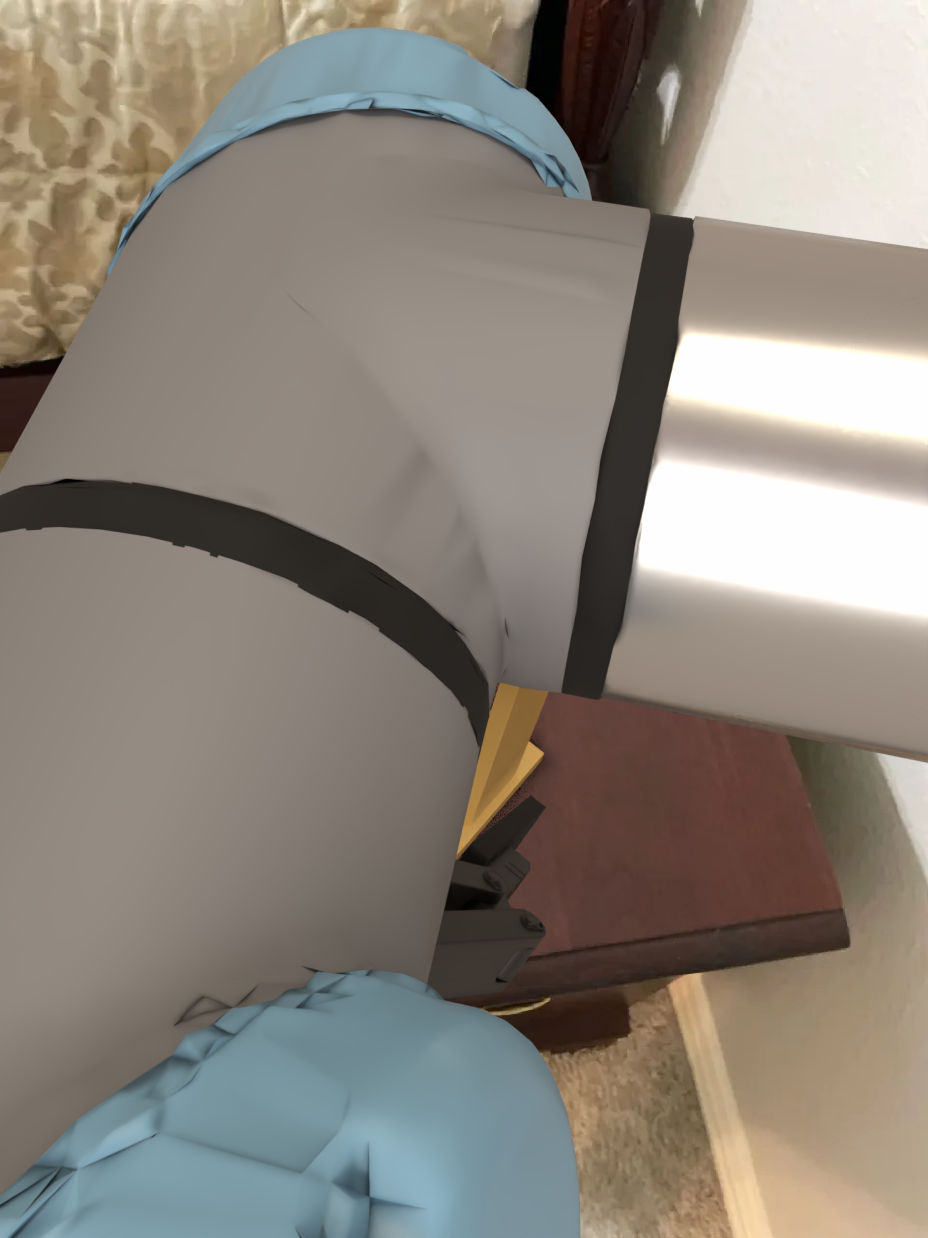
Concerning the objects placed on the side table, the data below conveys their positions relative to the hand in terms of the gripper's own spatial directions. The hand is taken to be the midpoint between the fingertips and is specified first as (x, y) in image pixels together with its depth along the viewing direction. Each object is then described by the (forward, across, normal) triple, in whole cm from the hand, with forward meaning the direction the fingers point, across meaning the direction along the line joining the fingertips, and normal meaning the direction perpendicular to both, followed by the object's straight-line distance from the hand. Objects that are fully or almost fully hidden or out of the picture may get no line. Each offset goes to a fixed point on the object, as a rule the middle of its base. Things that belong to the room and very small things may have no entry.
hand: (388, 720), depth 43 cm
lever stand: (+22, 0, -10) cm, 24 cm away
